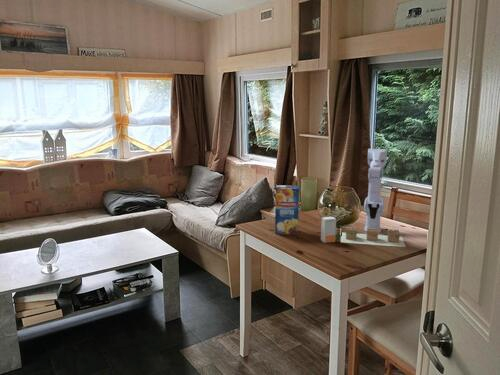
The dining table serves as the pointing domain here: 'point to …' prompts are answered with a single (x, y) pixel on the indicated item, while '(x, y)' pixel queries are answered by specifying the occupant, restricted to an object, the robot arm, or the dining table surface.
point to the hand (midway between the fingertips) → (372, 218)
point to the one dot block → (393, 235)
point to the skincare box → (328, 229)
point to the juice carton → (286, 209)
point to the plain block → (372, 234)
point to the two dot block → (351, 233)
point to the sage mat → (381, 241)
